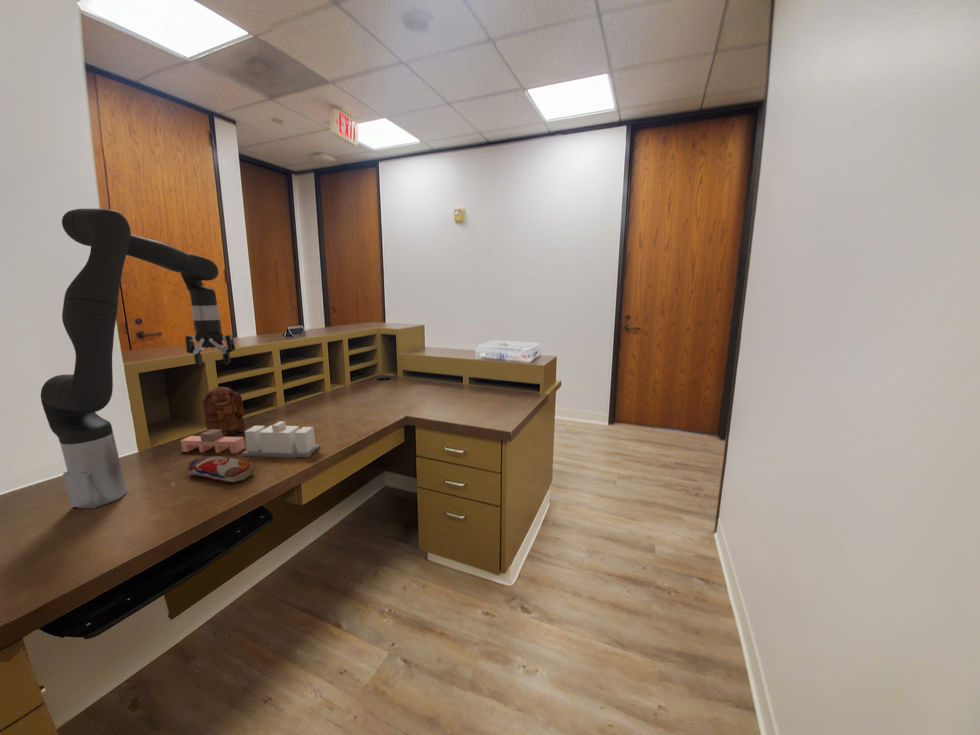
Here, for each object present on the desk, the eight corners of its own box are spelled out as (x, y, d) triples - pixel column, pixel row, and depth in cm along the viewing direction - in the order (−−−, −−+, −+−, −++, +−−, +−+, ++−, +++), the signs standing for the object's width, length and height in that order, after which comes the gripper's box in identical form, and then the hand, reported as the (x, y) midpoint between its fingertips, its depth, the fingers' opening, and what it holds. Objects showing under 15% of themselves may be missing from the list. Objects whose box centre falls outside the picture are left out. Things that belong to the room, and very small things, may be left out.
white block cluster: (307, 457, 120) (304, 428, 118) (242, 456, 122) (238, 427, 120) (320, 447, 128) (317, 419, 126) (258, 445, 129) (254, 418, 127)
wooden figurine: (210, 440, 134) (201, 392, 130) (207, 435, 139) (199, 388, 135) (248, 431, 142) (241, 386, 138) (244, 427, 147) (237, 382, 143)
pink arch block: (236, 453, 124) (233, 435, 122) (182, 451, 125) (178, 433, 123) (245, 447, 128) (242, 430, 127) (193, 446, 129) (189, 428, 128)
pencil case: (216, 494, 100) (213, 477, 99) (185, 475, 110) (182, 459, 109) (258, 476, 109) (256, 461, 108) (226, 460, 119) (224, 446, 118)
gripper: (176, 319, 125) (184, 367, 128) (223, 319, 127) (230, 365, 130) (190, 318, 132) (197, 363, 135) (234, 317, 134) (240, 361, 138)
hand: (213, 364), depth 133 cm, fingers open, 8 cm apart
